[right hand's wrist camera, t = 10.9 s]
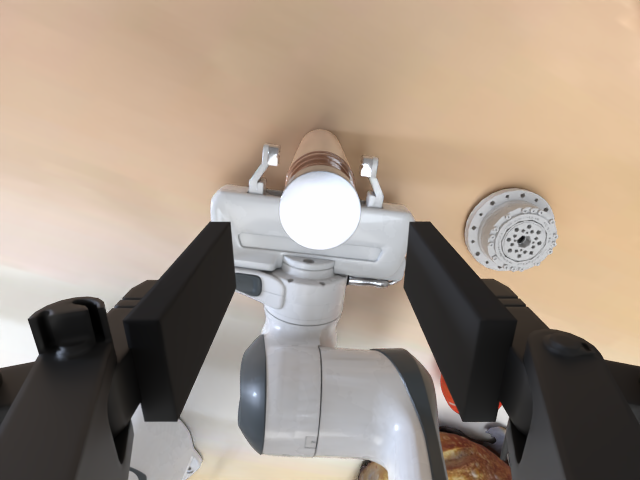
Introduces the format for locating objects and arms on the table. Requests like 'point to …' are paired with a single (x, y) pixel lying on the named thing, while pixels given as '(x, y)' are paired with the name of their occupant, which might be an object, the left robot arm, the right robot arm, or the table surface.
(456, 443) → the bread
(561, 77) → the table surface
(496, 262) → the mechanical component
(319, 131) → the wooden furniture leg
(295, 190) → the cap
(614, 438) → the right robot arm
